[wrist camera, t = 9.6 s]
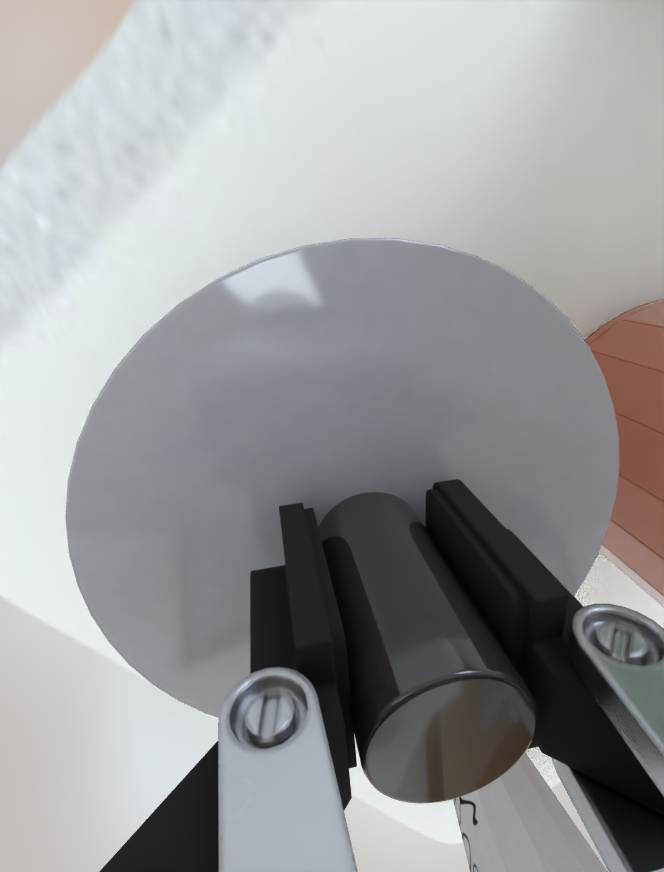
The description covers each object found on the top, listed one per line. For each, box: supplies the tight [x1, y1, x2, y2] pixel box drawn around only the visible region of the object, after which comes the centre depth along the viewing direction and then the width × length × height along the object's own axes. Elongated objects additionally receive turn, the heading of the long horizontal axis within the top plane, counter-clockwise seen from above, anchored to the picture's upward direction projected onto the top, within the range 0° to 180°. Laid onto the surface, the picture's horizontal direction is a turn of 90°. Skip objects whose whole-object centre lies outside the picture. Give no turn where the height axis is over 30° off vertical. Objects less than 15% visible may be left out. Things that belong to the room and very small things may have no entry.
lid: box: [66, 238, 620, 803], centre depth 9 cm, size 13×13×6 cm
